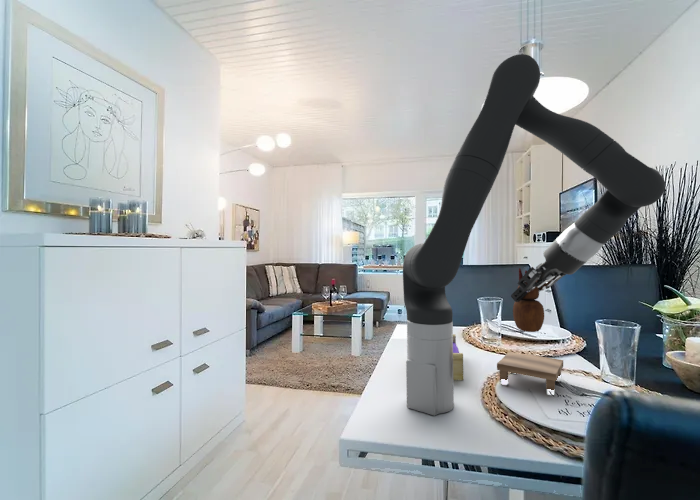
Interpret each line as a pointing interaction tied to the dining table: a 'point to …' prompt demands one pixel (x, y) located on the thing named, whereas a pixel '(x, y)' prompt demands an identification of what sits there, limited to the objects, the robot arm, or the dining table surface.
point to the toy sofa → (457, 362)
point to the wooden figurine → (528, 311)
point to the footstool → (531, 367)
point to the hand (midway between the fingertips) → (520, 298)
